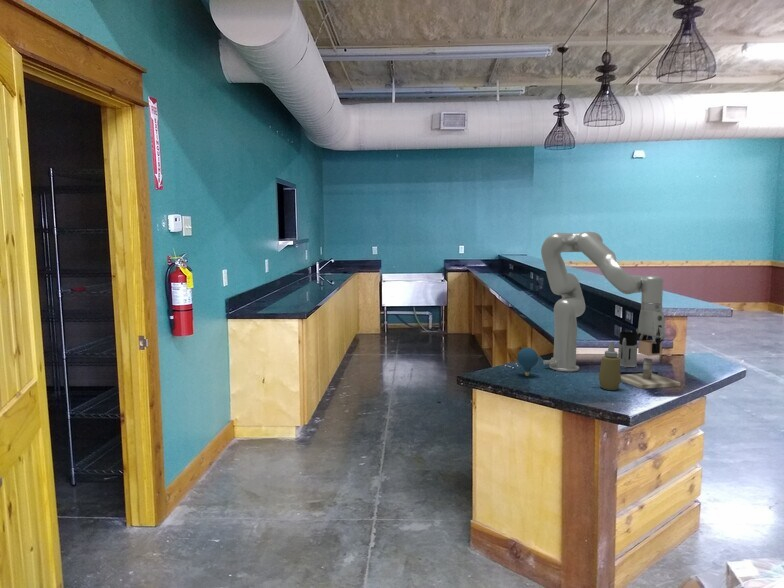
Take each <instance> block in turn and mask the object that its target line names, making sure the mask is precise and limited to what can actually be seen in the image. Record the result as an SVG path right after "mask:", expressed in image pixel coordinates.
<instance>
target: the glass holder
mask: <svg viewBox="0 0 784 588" xmlns="http://www.w3.org/2000/svg"><path fill="white" fill-rule="evenodd" d="M638 338H639V336H638V333H637V332H634V331H633V332H632V331H621V332H620V331H619V340H618V351H617V352H618V356H617V357H618V358H619V359H620V366H624V367H623V368H626V367H635V366H637V367H638V364H637V360H638Z"/></svg>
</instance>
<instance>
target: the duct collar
mask: <svg viewBox="0 0 784 588" xmlns="http://www.w3.org/2000/svg"><path fill="white" fill-rule="evenodd" d="M652 343H653V339H647V340H643V341H641V340H638V346H637V354H641V355H643V356H644V355H645V356H650V357H651V356H653V357H654V356H662V355H663V353H662V352H663V341H662V342H661V344H660V353H657V354H653V353H652Z"/></svg>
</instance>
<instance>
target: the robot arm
mask: <svg viewBox="0 0 784 588" xmlns="http://www.w3.org/2000/svg"><path fill="white" fill-rule="evenodd" d="M540 253H541V259H542V263H543V265H544V269H545V272H546V277H547V281H548V284H549V287H550V290H551V291H550V292H552V293H553V294H554V295H557V296H561V298H560V299H558V300H557V301H556V302H555V304H554V306H553V317H554V318H553V320H554V330H553V331H554V337H553V339H554V341H553V357H551V359H544V360H542V363H543V365H549V369H551V370H553V371H559V372H570V373H571V372H577V371H580V366H579V365H577V344H578V343H577V342H578V341H577V340H578V322H577V318H578V317H580V316H582V315H583V314H584V313H585V311H586V303H585V297H584V295H583V290H582V287H581V284H580V283H581V282H580V281H579V279H578V278H577V277H576V275H574V274H572V273H570V272H568V271H567V267H566V263H565V261H564V258H562V256H561V255H562V253H582V254H583V255H584V256H586V257H587V258H588V259H589V260H590V262H592V263H593V264H594V265H595V266H596V267H597V268H598V269H599V271H600V273H601V274H602V275H603V276H604V278H605V279H606V280H607V281H608V282H609V283H610V284H611V285H612V286H613V287H614V288H616V289H617V290H618V291H619V292H620V293H622V294H625V295H631V294H632V295H633V294H638V293H641V298H640V299H641V301H640V302H641V303H640V305H641V306H640V312H639V318H638V325H637V326H638V327H637V328H636V329H635V331H636V332H635V333H637V334H638V338H639V340H638V341H643V340H648V337H649V336H650V337H651V338H652V340H653V343H652V353H653V354H657V353H660V344H661V342H662V343H663V341H664V340H665V338H666V337H667V335H666V334H665V332H666V331H665V330H666V328H665V327H666V325H665V324H666V323H665V314H664V311H663V294H664V290H663V289H664V279H663V277H662V276H658V275H640V274H629V273H628V272H627V271H626V270H625V269H624V268H623V267H622V266H621V265H620V264H619V262H618V261H617V257H616V254H615V252H614V251H613V250H611V248H609V247H608V246H607V245H606V244H605V243H604V242H603V237H602V236H601V235H600V234H599V233H597V232H595V231H583V232H577V233H576V232H573V233H572V232H568V233H567V232H555V233H552V234H550V235H548V237H547V238H545V240H544V241H543V243H542V246H541V248H540Z"/></svg>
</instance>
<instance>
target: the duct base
mask: <svg viewBox="0 0 784 588" xmlns="http://www.w3.org/2000/svg"><path fill="white" fill-rule="evenodd" d="M621 382H622V383H625V384H628V385H630V386H632V387H636V388H638V389H641V390H642V389H644V390H645V389H658V388H660V389H661V388H676V387H677V388H678V387H681V385H682V384H681V382H680V381H677V380H674V379H671V378H668V377H665V376H662V375H660V374H656V373H653V359H652V358H647V357H645V358H643V366H642V373H630V374H629V373H627V374H621Z"/></svg>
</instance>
